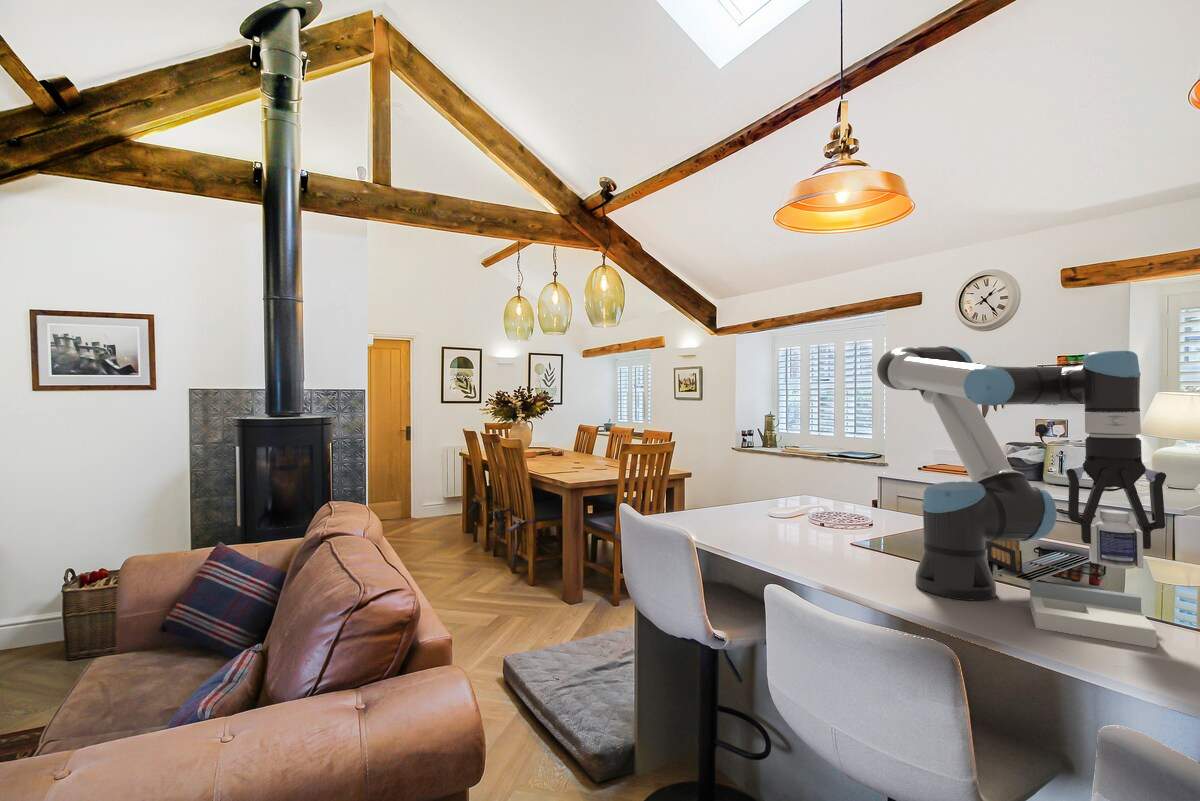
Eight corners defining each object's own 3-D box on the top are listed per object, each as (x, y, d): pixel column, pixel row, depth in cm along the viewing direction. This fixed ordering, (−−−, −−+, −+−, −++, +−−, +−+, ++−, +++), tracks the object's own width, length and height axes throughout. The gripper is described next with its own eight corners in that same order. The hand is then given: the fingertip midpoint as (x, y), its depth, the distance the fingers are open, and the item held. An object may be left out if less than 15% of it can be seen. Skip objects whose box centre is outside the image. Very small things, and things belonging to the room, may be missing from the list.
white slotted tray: (1035, 628, 103) (1035, 597, 103) (1030, 608, 113) (1029, 580, 113) (1156, 648, 94) (1155, 615, 94) (1138, 624, 104) (1138, 594, 104)
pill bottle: (1144, 570, 98) (1142, 514, 98) (1108, 568, 99) (1107, 513, 100) (1122, 562, 104) (1121, 509, 104) (1088, 560, 105) (1087, 508, 105)
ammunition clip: (986, 559, 147) (986, 514, 148) (994, 559, 147) (993, 514, 147) (1014, 571, 137) (1013, 522, 137) (1022, 571, 137) (1021, 522, 137)
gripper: (1050, 436, 104) (1053, 561, 103) (1190, 438, 94) (1194, 577, 93) (1045, 434, 110) (1048, 552, 110) (1177, 436, 100) (1180, 566, 99)
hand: (1115, 563), depth 101 cm, fingers closed on pill bottle, 5 cm apart
